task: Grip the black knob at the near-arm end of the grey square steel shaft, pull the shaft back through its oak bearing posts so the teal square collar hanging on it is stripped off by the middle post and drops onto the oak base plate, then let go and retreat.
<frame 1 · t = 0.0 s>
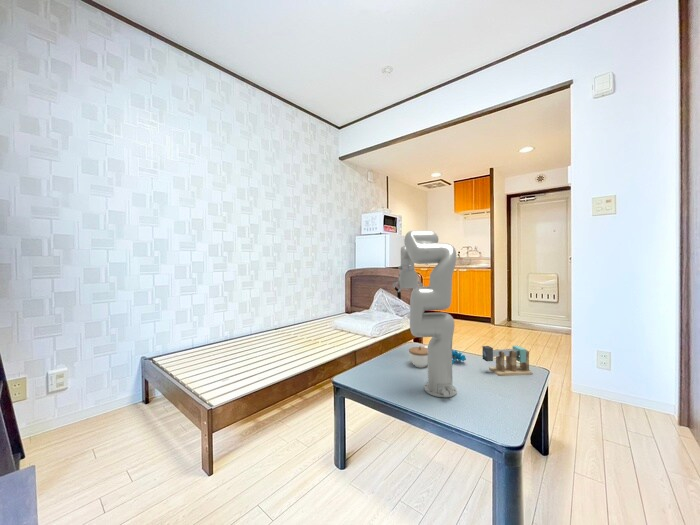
hand: (407, 298, 161), 31 cm above the table, fingers open, 9 cm apart
shaft: (505, 352, 134), point 9 cm above the table, slide at 0.0 cm, touching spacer
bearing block: (510, 371, 134), on the table
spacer: (519, 353, 135), point 8 cm above the table, touching shaft
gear: (454, 362, 148), on the table
lidded jar: (420, 365, 144), on the table
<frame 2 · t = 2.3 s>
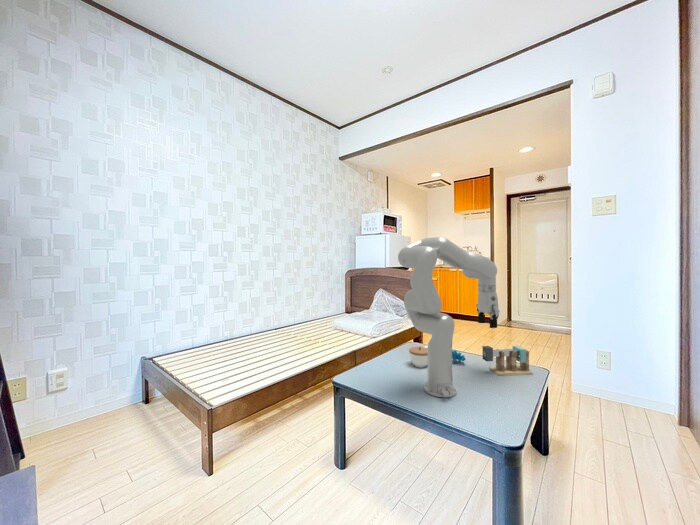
hand: (487, 325, 133), 22 cm above the table, fingers open, 9 cm apart
nothing on the table moved.
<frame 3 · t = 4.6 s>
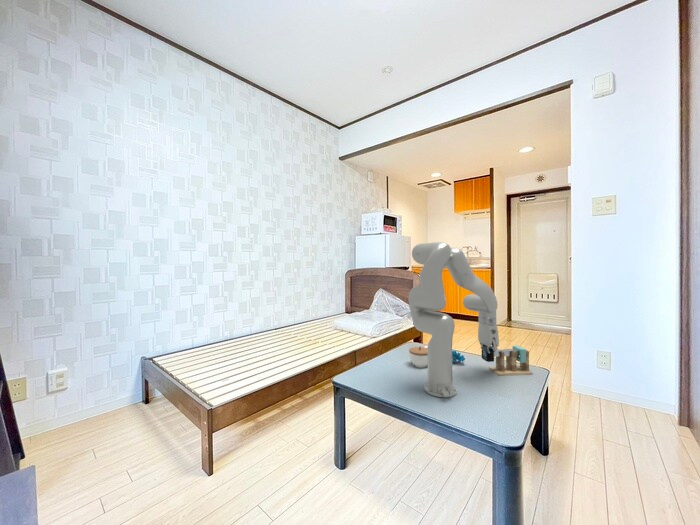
hand: (487, 359, 133), 6 cm above the table, fingers closed on shaft, 3 cm apart
shaft: (505, 352, 134), point 9 cm above the table, slide at 0.0 cm, touching gripper, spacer
everything else where it was.
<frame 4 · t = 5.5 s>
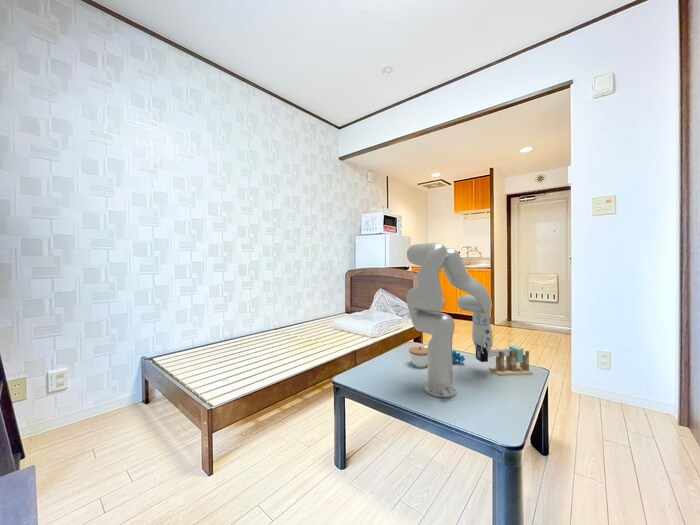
hand: (481, 359, 133), 6 cm above the table, fingers closed on shaft, 3 cm apart
shaft: (499, 353, 134), point 9 cm above the table, slide at 2.9 cm, touching gripper
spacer: (515, 353, 134), point 8 cm above the table
everything else where it was.
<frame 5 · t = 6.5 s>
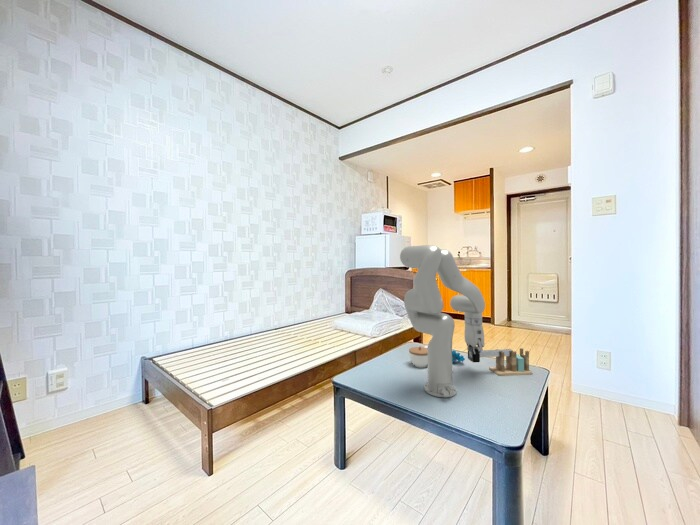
hand: (473, 360, 133), 6 cm above the table, fingers closed on shaft, 3 cm apart
shaft: (491, 353, 133), point 9 cm above the table, slide at 6.7 cm, touching gripper
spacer: (517, 362, 135), point 4 cm above the table, touching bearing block
everything else where it was.
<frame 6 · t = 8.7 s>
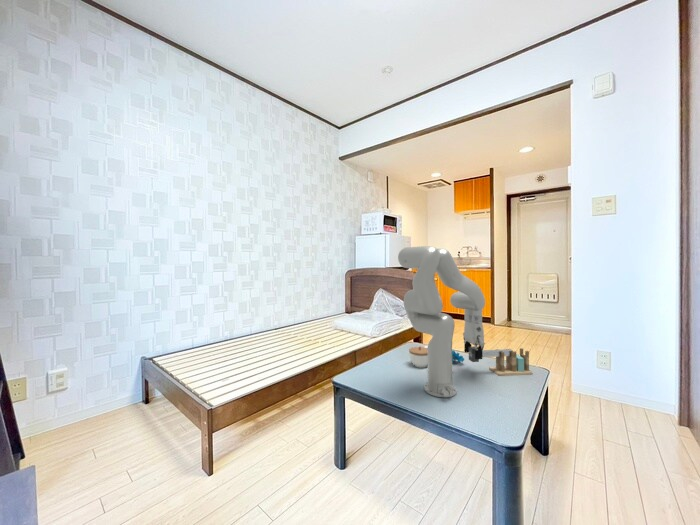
hand: (473, 355, 132), 8 cm above the table, fingers open, 9 cm apart
shaft: (491, 353, 133), point 9 cm above the table, slide at 6.8 cm
everything else where it was.
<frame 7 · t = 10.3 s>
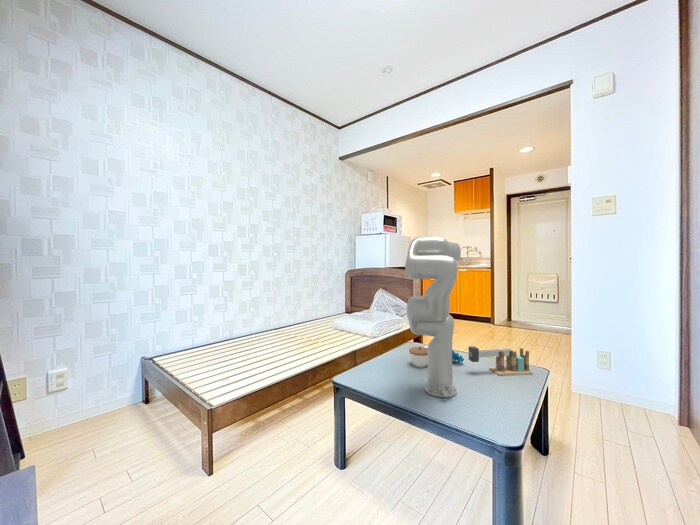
hand: (442, 306, 140), 30 cm above the table, fingers open, 9 cm apart
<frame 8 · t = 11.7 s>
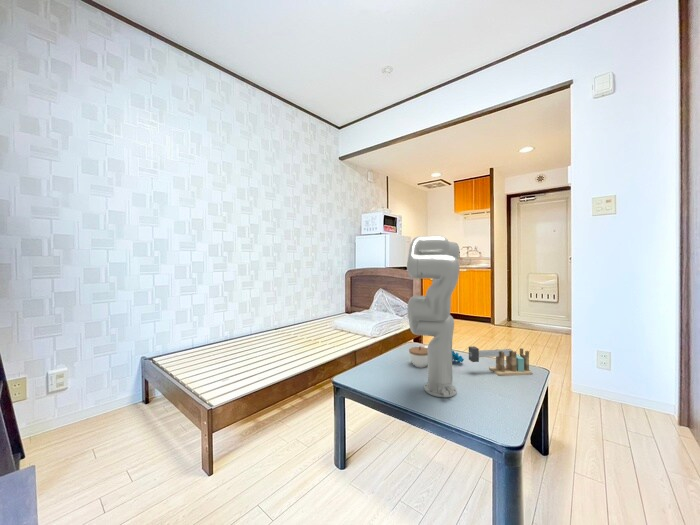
hand: (439, 305, 141), 30 cm above the table, fingers open, 9 cm apart
at the end: shaft slide at 6.8 cm; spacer point 4.0 cm above the table; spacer 3.9 cm from the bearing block (horizontally) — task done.
